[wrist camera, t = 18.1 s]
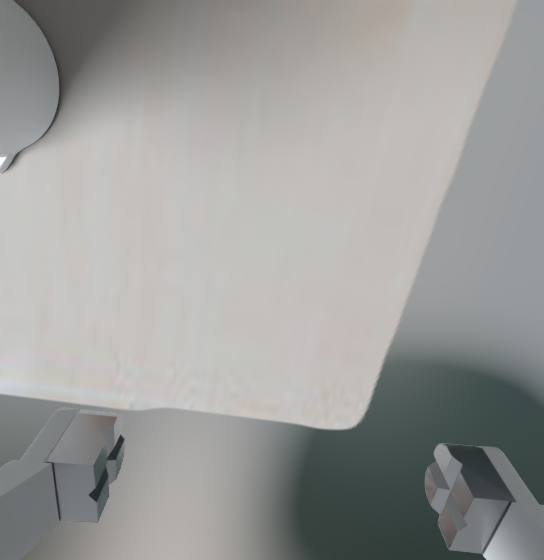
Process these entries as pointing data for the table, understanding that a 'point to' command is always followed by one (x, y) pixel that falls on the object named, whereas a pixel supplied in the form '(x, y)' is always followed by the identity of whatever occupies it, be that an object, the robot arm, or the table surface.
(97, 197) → the table surface
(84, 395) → the table surface
